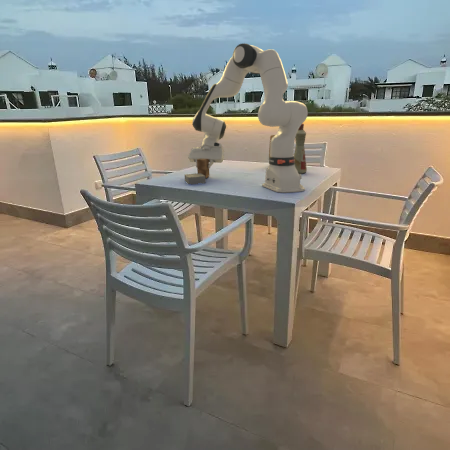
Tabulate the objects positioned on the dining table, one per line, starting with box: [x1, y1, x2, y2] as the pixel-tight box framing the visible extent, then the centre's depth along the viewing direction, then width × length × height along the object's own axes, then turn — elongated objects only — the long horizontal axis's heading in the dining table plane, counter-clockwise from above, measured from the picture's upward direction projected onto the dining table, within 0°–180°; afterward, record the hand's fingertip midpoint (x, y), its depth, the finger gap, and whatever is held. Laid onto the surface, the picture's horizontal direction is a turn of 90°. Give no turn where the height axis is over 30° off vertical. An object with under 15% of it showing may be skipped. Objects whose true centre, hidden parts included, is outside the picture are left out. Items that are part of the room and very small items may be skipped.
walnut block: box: [196, 159, 210, 179], centre depth 183 cm, size 5×5×10 cm
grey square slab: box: [184, 172, 206, 185], centre depth 174 cm, size 9×9×4 cm
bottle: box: [293, 123, 307, 175], centre depth 189 cm, size 9×9×28 cm
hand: (202, 167), depth 182 cm, fingers closed on walnut block, 5 cm apart
